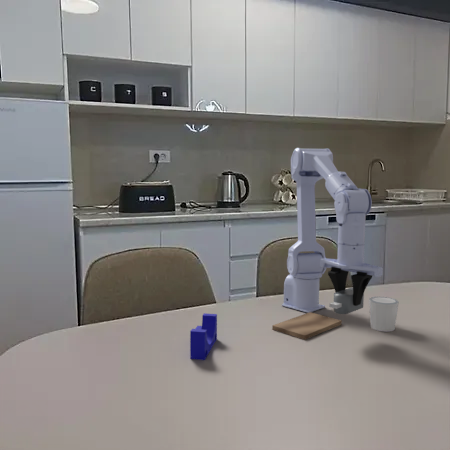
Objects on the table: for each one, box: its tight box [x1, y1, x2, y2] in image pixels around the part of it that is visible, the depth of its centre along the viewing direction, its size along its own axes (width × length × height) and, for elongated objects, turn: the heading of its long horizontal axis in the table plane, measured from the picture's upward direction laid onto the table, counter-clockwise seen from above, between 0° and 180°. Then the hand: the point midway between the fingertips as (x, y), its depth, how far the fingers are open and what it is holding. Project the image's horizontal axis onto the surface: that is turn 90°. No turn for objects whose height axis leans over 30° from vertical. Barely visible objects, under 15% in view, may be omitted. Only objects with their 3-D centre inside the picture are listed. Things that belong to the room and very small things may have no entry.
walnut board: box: [271, 312, 343, 341], centre depth 113 cm, size 10×16×1 cm, turn 134°
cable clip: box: [189, 312, 218, 361], centre depth 99 cm, size 12×4×6 cm, turn 169°
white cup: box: [368, 296, 399, 333], centre depth 113 cm, size 7×7×7 cm
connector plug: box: [329, 287, 365, 315], centre depth 104 cm, size 4×11×4 cm, turn 134°
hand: (348, 302), depth 105 cm, fingers closed on connector plug, 3 cm apart
